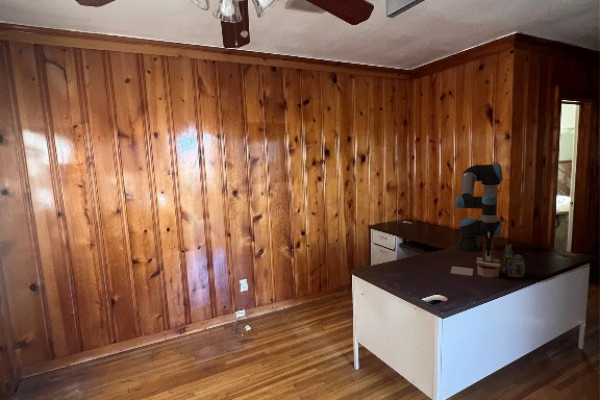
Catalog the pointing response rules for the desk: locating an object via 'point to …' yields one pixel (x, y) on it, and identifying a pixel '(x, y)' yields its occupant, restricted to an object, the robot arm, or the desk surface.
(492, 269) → the bowl
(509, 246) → the ruin model on sheet
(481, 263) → the tan wooden stand
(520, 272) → the green labelled jug
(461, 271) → the mat
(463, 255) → the desk surface
